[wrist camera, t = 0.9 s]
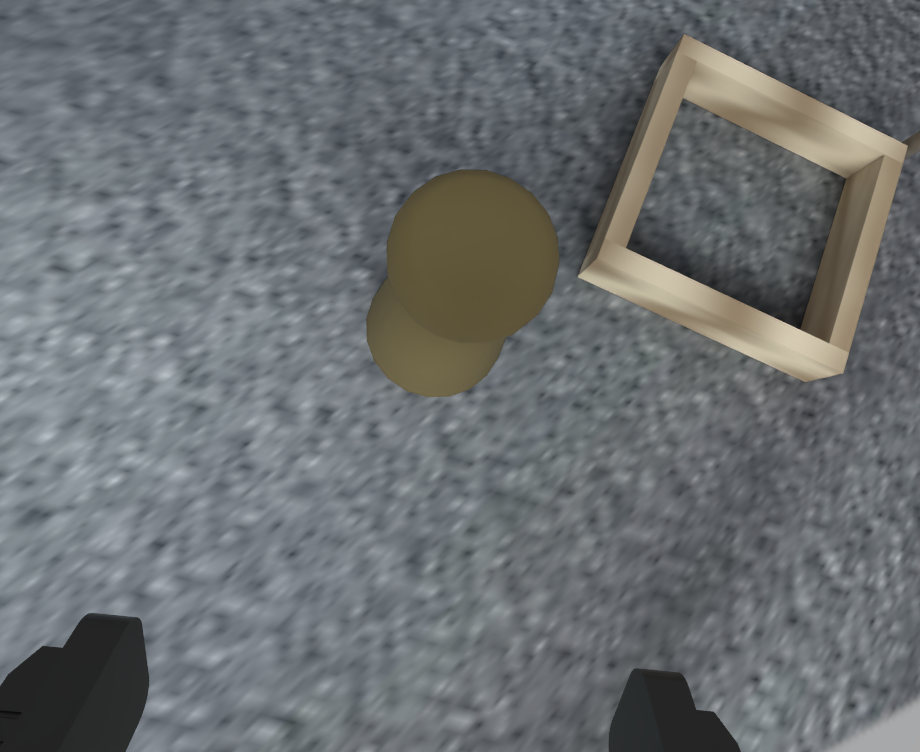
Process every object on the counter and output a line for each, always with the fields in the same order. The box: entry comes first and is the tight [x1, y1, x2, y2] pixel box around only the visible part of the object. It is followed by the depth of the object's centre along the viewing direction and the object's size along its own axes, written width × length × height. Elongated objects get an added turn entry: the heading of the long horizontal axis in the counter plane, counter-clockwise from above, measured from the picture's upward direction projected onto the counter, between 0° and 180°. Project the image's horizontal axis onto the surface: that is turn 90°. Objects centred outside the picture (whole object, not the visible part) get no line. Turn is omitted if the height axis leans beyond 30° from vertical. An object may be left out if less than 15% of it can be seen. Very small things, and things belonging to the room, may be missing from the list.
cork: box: [366, 170, 559, 397], centre depth 24 cm, size 6×6×11 cm
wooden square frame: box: [578, 34, 920, 382], centre depth 25 cm, size 17×13×16 cm
